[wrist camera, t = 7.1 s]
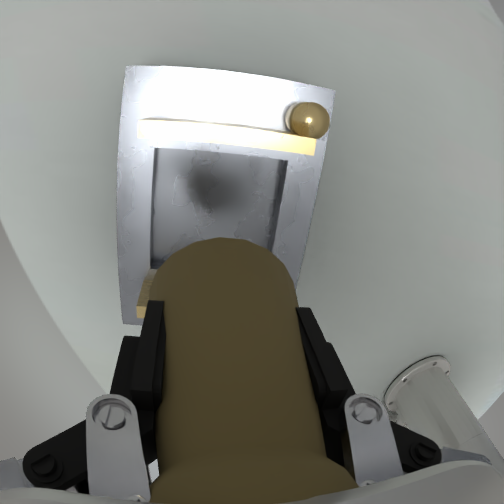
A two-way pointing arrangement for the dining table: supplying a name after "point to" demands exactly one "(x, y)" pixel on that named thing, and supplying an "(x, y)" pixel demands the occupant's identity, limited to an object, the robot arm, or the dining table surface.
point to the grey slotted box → (214, 167)
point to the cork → (236, 383)
